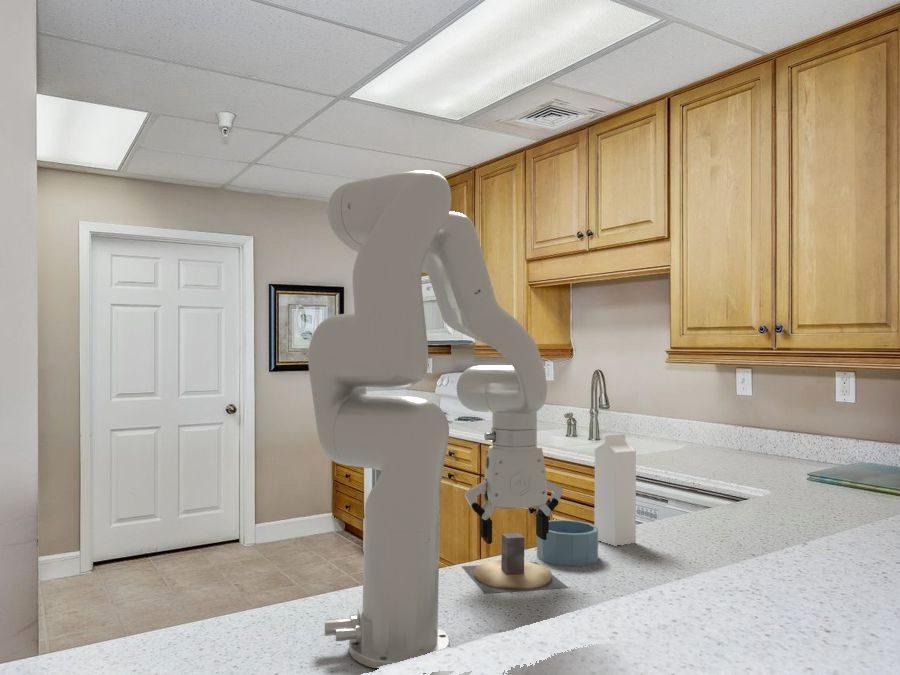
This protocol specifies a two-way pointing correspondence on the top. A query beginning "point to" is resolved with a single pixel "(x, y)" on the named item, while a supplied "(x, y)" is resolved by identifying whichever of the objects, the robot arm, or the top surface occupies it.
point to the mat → (489, 589)
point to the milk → (615, 491)
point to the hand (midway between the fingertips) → (514, 539)
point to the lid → (512, 568)
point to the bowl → (569, 543)
